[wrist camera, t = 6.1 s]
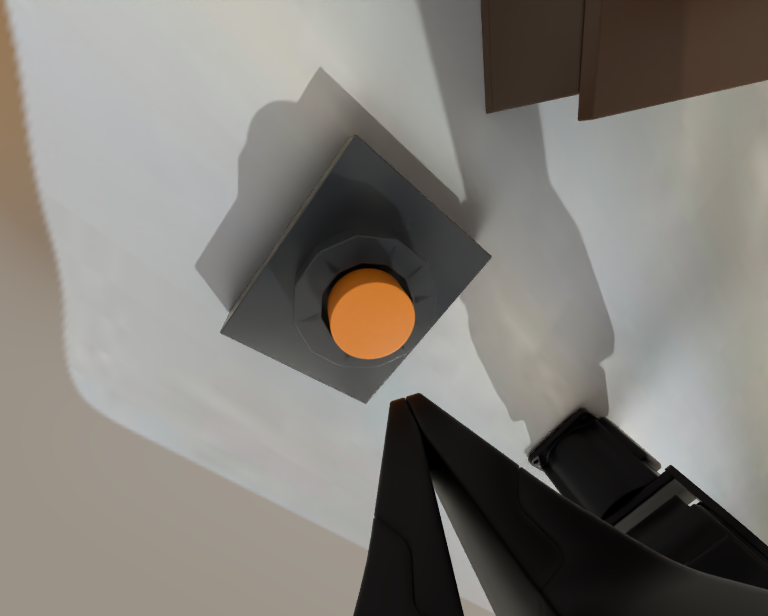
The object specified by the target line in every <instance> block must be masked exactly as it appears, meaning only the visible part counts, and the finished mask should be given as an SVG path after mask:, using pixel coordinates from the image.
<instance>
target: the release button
mask: <svg viewBox="0 0 768 616" xmlns="http://www.w3.org/2000/svg"><path fill="white" fill-rule="evenodd" d="M327 309H328V316H329V323H330V330H331V334H332V337H333V339H334V341H335V342H336V344H337V345H338V346H339V347H340V348H341V349H342V350H343V351H344V352H346V353H347V354H349V355H351V356H354V357H357V358H361V359H376V358H381V357H384V356H387V355H389V354H391V353H393V352H395V351H396V350H398V349H399V348H400V347H401V346H402V345H403V344H404V343H405V342H406V341H407V339H408V338H409V336H410V335H411V333H412V330H413V327H414V323H415V310H414V306H413V304H412V302H411V300H410V298H409V297H408V295H407V294H406V292H405V291H404V290H403V288H402V287H401V285H400V284H399V283H398V281H397V280H396V279H395V278H394V277H393V276H391V275H390V274H388V273H387V272H385V271H382V270H379V269H374V268H362V269H358V270H354V271H352V272H350V273H348V274H346V275H345V276H343V277H342V278H341V279H340V280H338V282H337V283H336V284H335V285H334V287H333V288H332V290H331V292H330V294H329V298H328V303H327Z"/></svg>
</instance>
